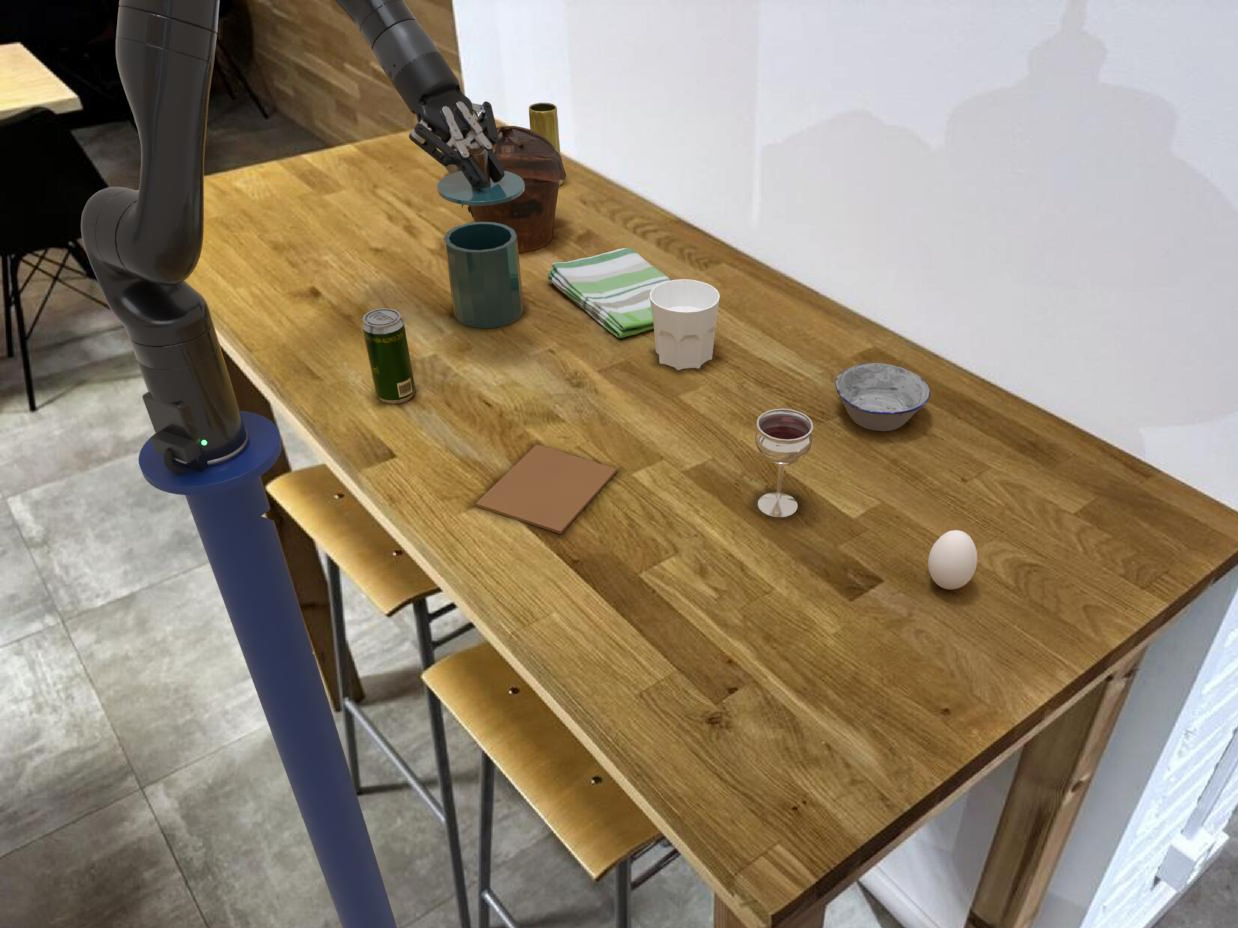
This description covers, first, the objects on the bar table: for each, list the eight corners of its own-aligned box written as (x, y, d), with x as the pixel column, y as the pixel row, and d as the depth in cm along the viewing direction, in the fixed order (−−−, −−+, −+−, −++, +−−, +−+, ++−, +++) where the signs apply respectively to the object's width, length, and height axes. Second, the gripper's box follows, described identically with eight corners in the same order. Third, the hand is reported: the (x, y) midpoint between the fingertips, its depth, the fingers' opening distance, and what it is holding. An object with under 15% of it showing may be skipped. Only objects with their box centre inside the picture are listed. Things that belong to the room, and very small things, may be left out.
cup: (709, 336, 165) (711, 277, 158) (723, 370, 157) (726, 309, 151) (645, 341, 163) (644, 281, 156) (656, 376, 155) (656, 314, 149)
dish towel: (633, 259, 184) (633, 239, 182) (711, 313, 170) (712, 293, 168) (545, 283, 176) (543, 263, 174) (619, 343, 162) (618, 322, 160)
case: (521, 206, 199) (512, 107, 188) (591, 240, 189) (586, 138, 178) (440, 233, 189) (425, 131, 178) (510, 271, 179) (499, 165, 168)
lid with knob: (494, 216, 140) (490, 173, 136) (420, 199, 143) (414, 157, 139) (541, 186, 148) (538, 145, 144) (470, 171, 151) (465, 130, 148)
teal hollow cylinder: (499, 334, 163) (490, 257, 155) (440, 318, 166) (429, 242, 158) (536, 305, 171) (529, 230, 163) (479, 290, 174) (470, 216, 166)
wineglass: (753, 522, 130) (758, 441, 123) (748, 488, 136) (753, 408, 128) (808, 521, 131) (817, 440, 123) (801, 487, 136) (809, 408, 128)
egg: (931, 563, 126) (942, 513, 121) (975, 577, 124) (988, 526, 119) (917, 591, 122) (928, 540, 117) (963, 606, 120) (976, 555, 115)
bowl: (881, 453, 142) (885, 422, 139) (812, 411, 150) (815, 381, 147) (943, 419, 149) (949, 389, 146) (875, 380, 156) (879, 351, 153)
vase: (525, 182, 208) (519, 107, 199) (547, 173, 212) (542, 99, 203) (549, 190, 205) (543, 115, 196) (570, 181, 209) (566, 106, 200)
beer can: (424, 391, 150) (411, 314, 143) (397, 409, 147) (382, 331, 139) (395, 380, 152) (381, 303, 145) (368, 397, 149) (351, 320, 141)
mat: (561, 534, 128) (560, 531, 127) (476, 506, 131) (475, 503, 131) (617, 471, 137) (617, 468, 137) (536, 447, 141) (536, 444, 141)
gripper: (384, 61, 133) (465, 183, 136) (467, 39, 142) (541, 153, 145) (363, 96, 139) (441, 212, 142) (444, 72, 148) (515, 182, 150)
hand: (491, 182), depth 143 cm, fingers closed on lid with knob, 2 cm apart
